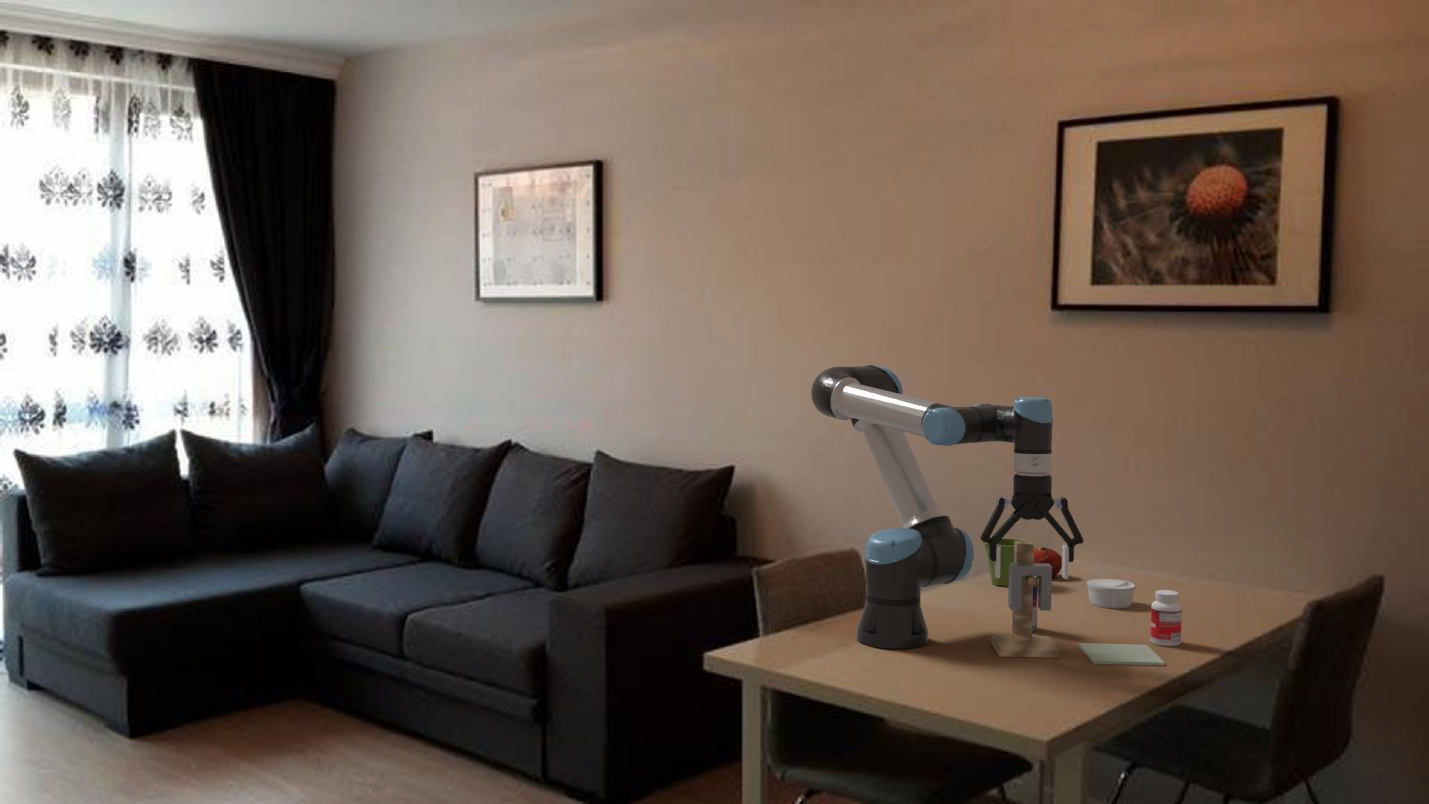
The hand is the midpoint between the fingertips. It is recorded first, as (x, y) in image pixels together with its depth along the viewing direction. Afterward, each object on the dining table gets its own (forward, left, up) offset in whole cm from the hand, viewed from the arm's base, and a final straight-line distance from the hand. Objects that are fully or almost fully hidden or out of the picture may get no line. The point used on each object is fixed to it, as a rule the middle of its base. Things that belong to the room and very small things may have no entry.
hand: (1031, 577), depth 259 cm
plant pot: (+6, +71, -17) cm, 74 cm away
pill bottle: (+31, +13, -17) cm, 37 cm away
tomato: (+18, +82, -17) cm, 86 cm away
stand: (0, +4, -16) cm, 17 cm away
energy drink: (+3, +23, -17) cm, 29 cm away
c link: (0, 0, -6) cm, 6 cm away
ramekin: (+28, +50, -17) cm, 60 cm away
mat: (+19, +2, -16) cm, 25 cm away
